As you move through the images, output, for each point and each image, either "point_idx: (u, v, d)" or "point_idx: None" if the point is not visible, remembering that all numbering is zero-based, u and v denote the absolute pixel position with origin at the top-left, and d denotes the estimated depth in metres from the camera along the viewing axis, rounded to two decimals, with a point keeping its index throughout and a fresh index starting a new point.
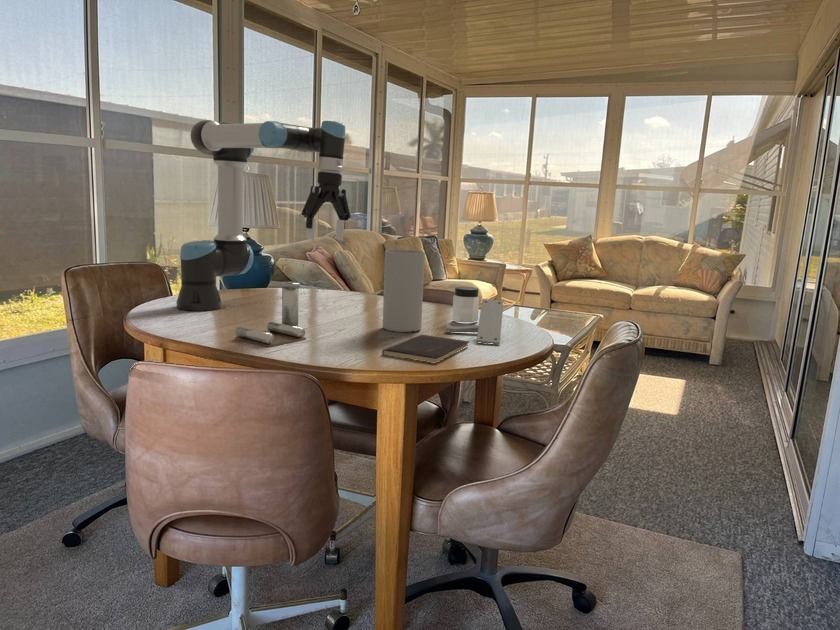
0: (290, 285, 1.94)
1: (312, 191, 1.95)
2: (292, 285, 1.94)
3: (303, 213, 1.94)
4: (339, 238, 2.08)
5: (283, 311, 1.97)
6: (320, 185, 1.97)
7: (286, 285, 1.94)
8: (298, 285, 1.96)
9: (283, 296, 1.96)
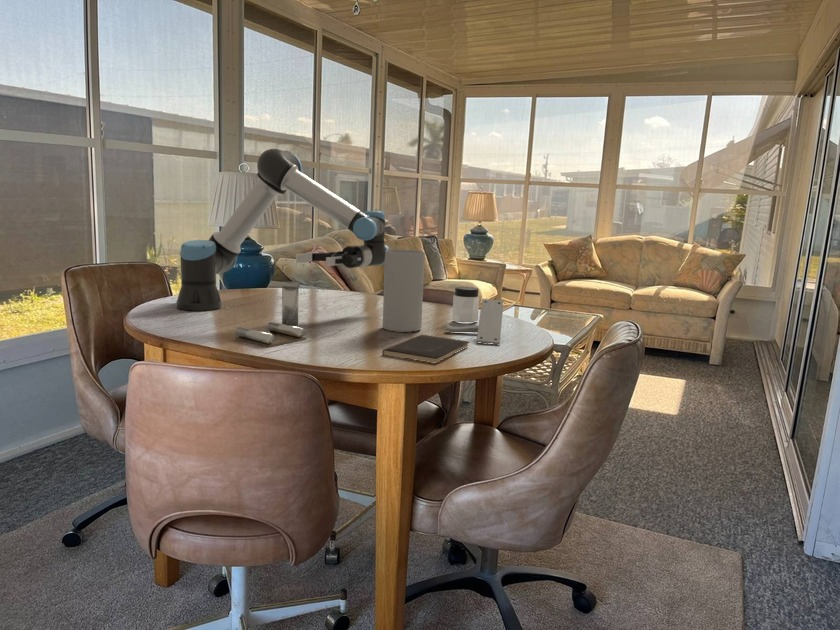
0: (290, 285, 1.94)
1: (358, 257, 2.11)
2: (292, 285, 1.94)
3: (351, 259, 2.03)
4: (298, 259, 2.07)
5: (283, 311, 1.97)
6: None
7: (286, 285, 1.94)
8: (298, 285, 1.96)
9: (283, 296, 1.96)
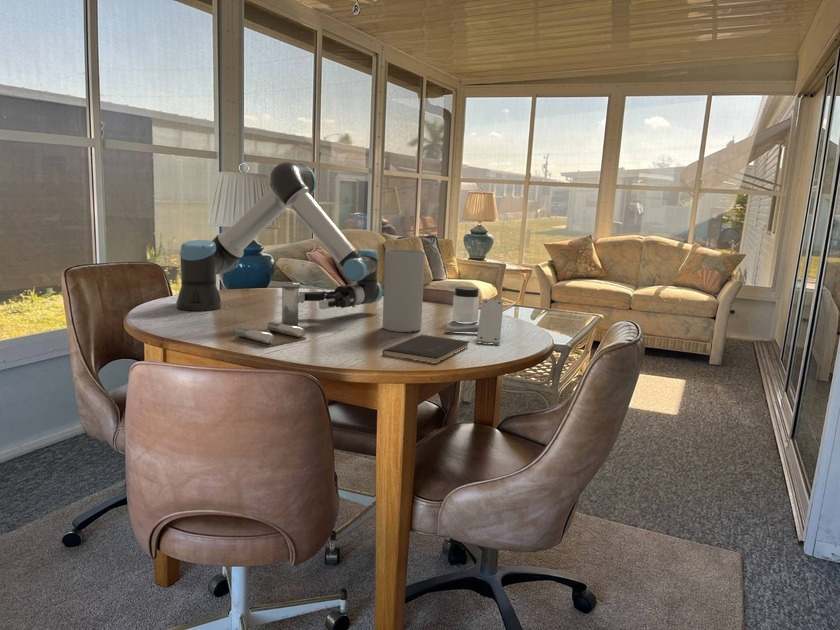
0: (290, 285, 1.94)
1: (350, 298, 2.10)
2: (292, 285, 1.94)
3: (344, 302, 2.03)
4: None
5: (283, 311, 1.97)
6: None
7: (286, 285, 1.94)
8: (298, 285, 1.96)
9: (283, 296, 1.96)
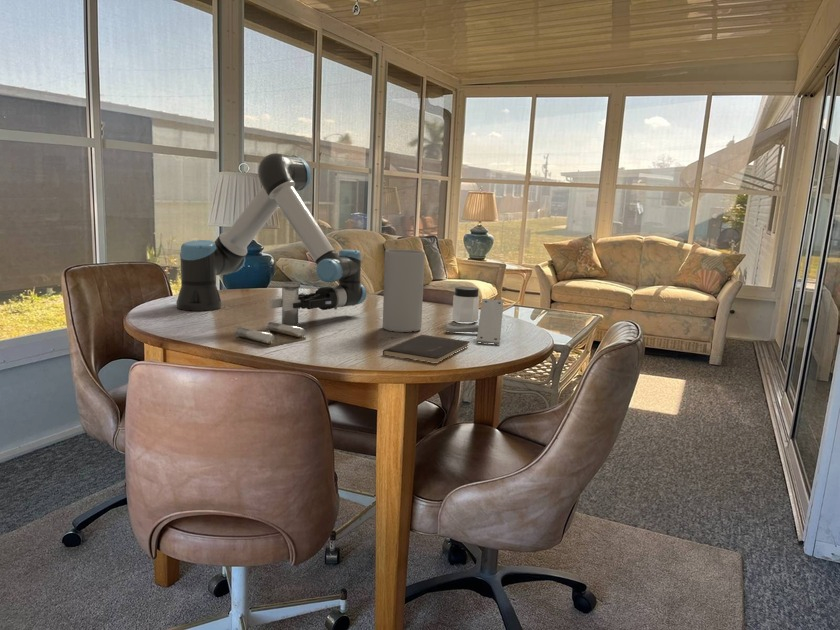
0: (290, 285, 1.94)
1: (326, 301, 2.02)
2: (292, 285, 1.94)
3: (310, 303, 1.96)
4: (272, 305, 1.95)
5: (283, 311, 1.97)
6: None
7: (286, 285, 1.94)
8: (298, 285, 1.96)
9: (283, 296, 1.96)
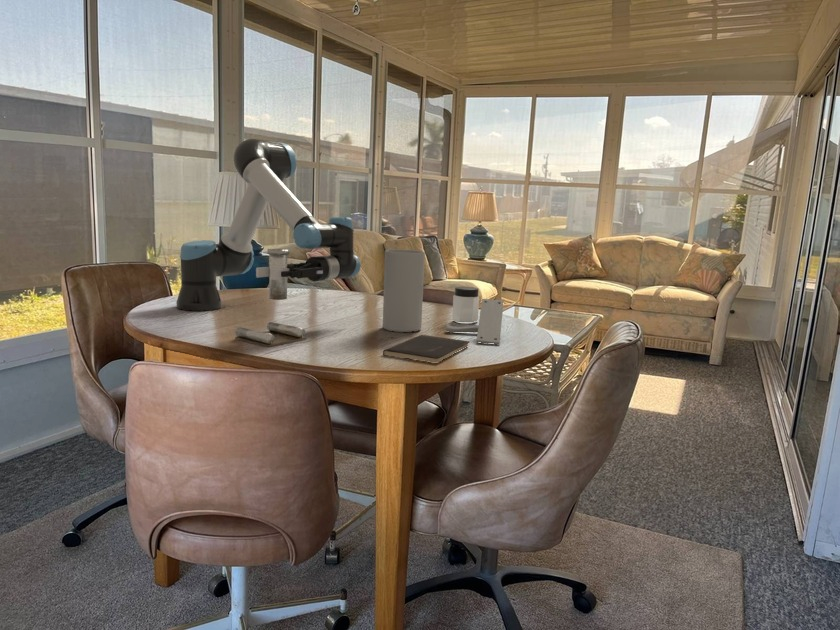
0: (278, 251, 1.77)
1: (317, 270, 1.85)
2: (280, 252, 1.77)
3: (299, 272, 1.79)
4: (259, 274, 1.78)
5: (270, 280, 1.79)
6: None
7: (274, 252, 1.77)
8: (287, 252, 1.79)
9: (270, 264, 1.79)
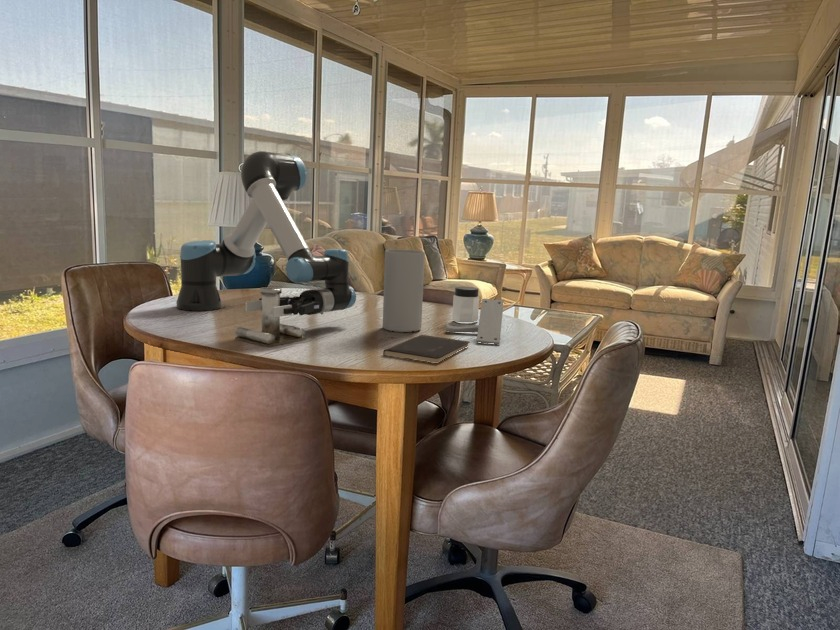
0: (270, 291, 1.76)
1: (314, 305, 1.85)
2: (272, 291, 1.76)
3: (302, 309, 1.78)
4: (248, 308, 1.80)
5: (263, 320, 1.79)
6: None
7: (266, 291, 1.76)
8: (279, 291, 1.78)
9: (263, 303, 1.78)
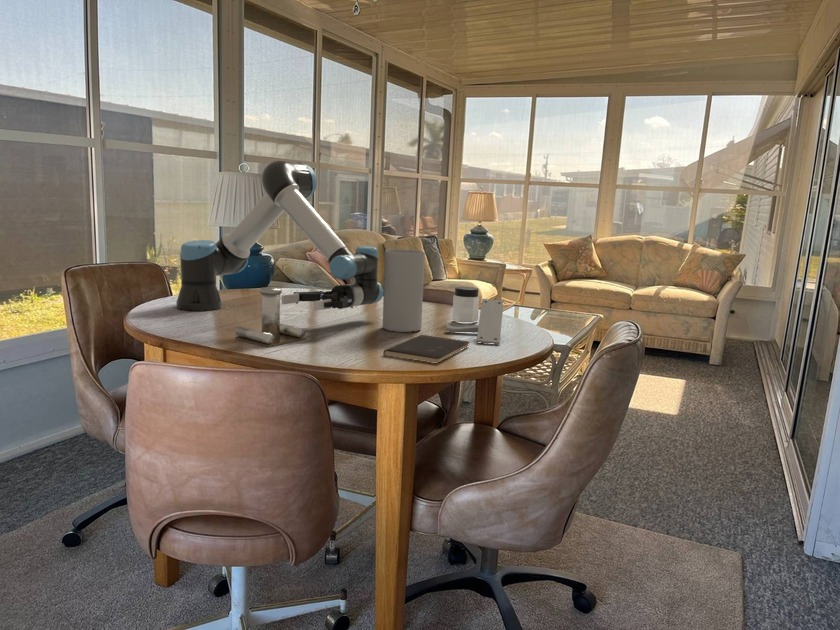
0: (270, 291, 1.76)
1: (348, 299, 1.96)
2: (272, 291, 1.76)
3: (341, 303, 1.89)
4: (284, 301, 1.92)
5: (263, 320, 1.78)
6: None
7: (266, 291, 1.76)
8: (279, 291, 1.78)
9: (263, 303, 1.78)
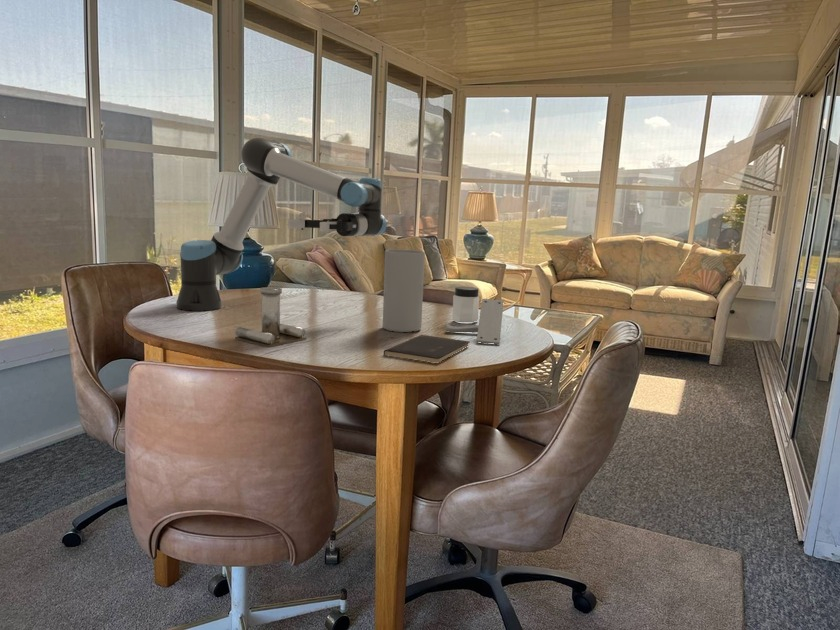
0: (270, 291, 1.76)
1: (353, 224, 2.01)
2: (272, 291, 1.76)
3: (346, 225, 1.93)
4: (290, 225, 1.97)
5: (263, 320, 1.79)
6: None
7: (266, 291, 1.76)
8: (279, 291, 1.78)
9: (263, 303, 1.78)
